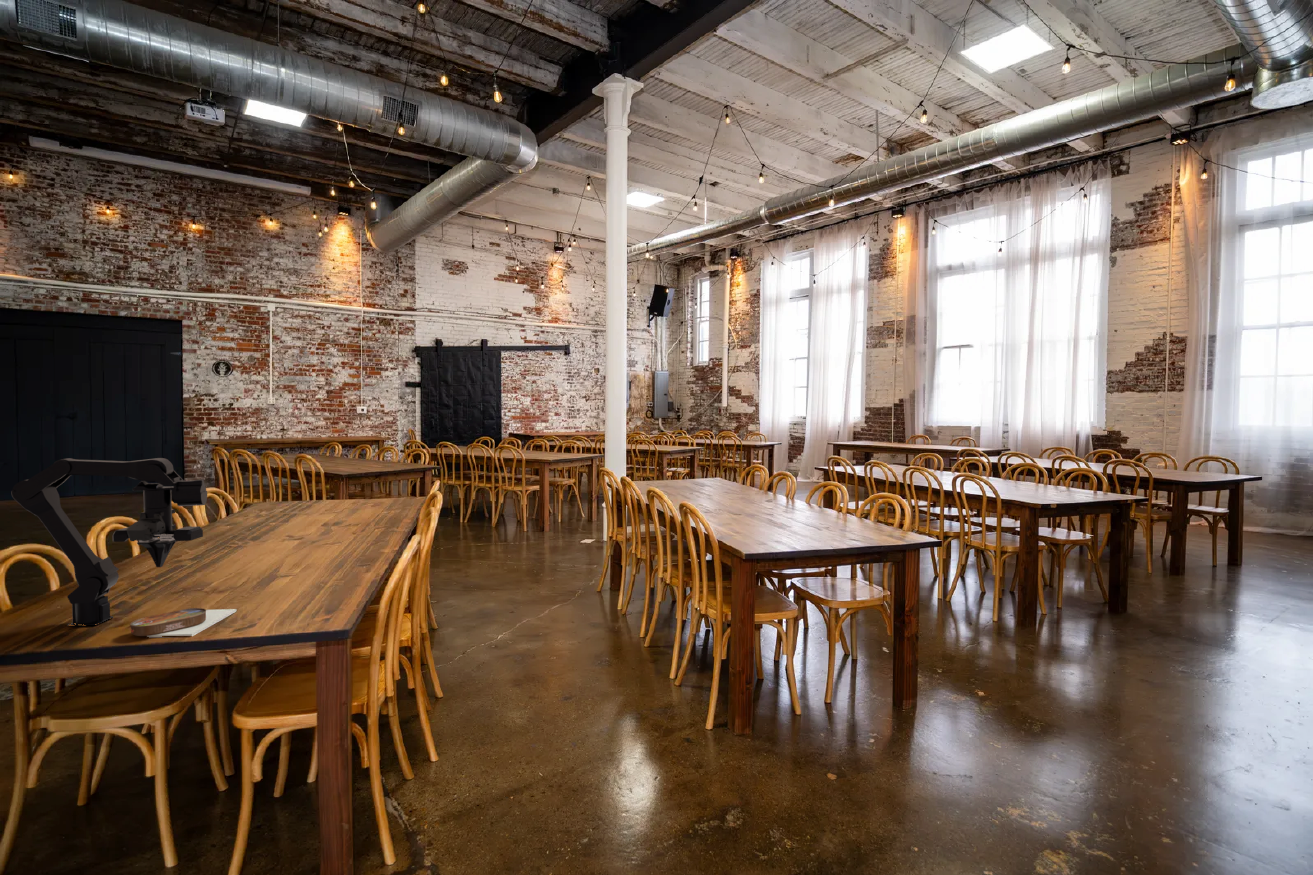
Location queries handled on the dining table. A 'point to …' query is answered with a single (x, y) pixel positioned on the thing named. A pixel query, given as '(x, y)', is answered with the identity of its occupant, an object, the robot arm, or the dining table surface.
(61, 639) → the dining table surface
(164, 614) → the brown oval food container
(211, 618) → the mat
